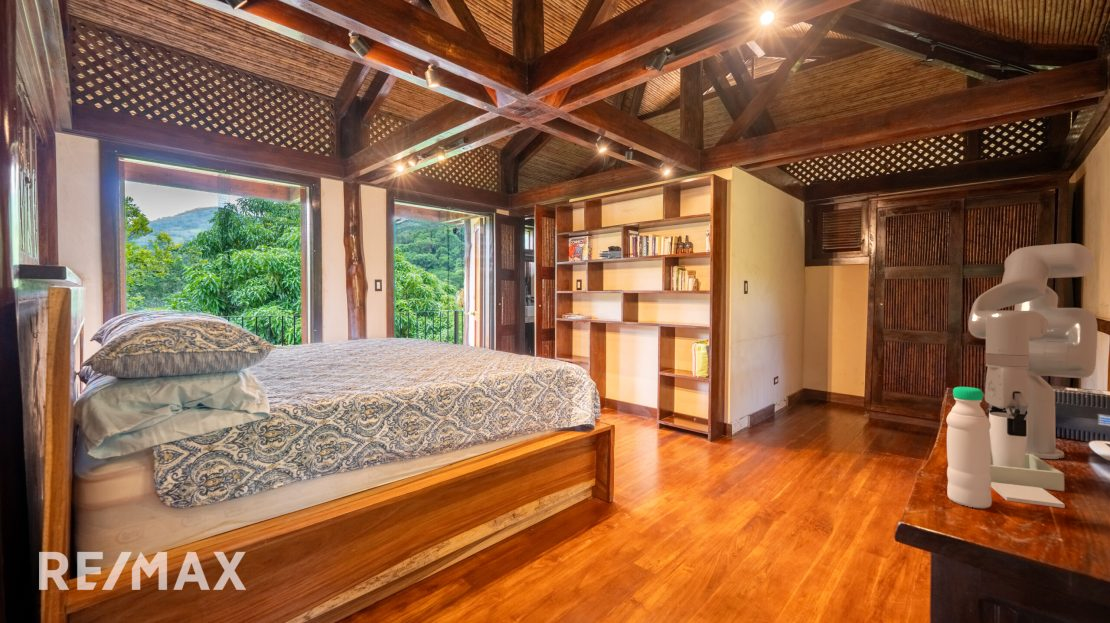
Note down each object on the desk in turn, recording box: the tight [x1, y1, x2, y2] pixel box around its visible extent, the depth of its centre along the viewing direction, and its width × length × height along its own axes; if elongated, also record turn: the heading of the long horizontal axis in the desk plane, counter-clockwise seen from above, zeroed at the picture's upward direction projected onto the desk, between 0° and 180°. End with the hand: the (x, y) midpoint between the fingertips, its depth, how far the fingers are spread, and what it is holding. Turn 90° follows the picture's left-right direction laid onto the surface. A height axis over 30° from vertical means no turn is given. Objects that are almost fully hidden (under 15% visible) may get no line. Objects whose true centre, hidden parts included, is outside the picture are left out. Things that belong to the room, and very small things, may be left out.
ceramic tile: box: [990, 482, 1066, 509], centre depth 99 cm, size 9×9×1 cm
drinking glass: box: [988, 412, 1028, 468], centre depth 110 cm, size 7×7×15 cm
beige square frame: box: [990, 451, 1065, 492], centre depth 110 cm, size 14×14×4 cm
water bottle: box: [946, 386, 993, 509], centre depth 96 cm, size 7×7×25 cm
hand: (1007, 430), depth 109 cm, fingers open, 9 cm apart
